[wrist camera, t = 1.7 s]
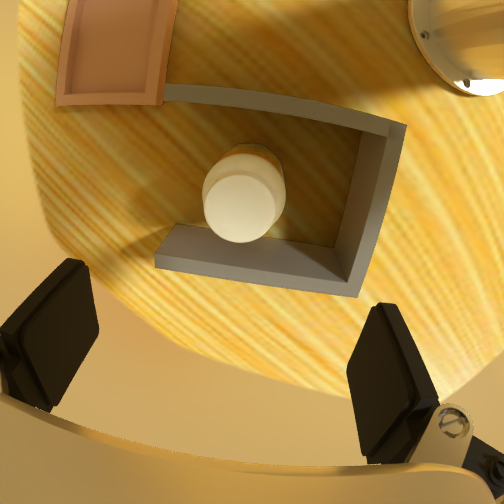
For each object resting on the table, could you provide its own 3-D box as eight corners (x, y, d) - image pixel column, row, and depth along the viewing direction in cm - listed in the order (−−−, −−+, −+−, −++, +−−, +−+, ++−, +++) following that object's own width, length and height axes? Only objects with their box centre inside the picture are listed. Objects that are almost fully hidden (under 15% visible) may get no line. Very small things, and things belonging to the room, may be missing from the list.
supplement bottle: (289, 195, 27) (298, 243, 18) (228, 210, 28) (209, 264, 19) (273, 134, 25) (274, 151, 16) (209, 151, 25) (178, 179, 17)
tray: (83, -12, 18) (73, -16, 17) (183, -24, 18) (177, -31, 17) (65, 104, 24) (55, 106, 22) (162, 104, 24) (155, 105, 22)
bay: (188, 86, 23) (165, 83, 18) (378, 118, 23) (406, 124, 18) (175, 235, 29) (154, 267, 24) (343, 261, 29) (357, 297, 24)
